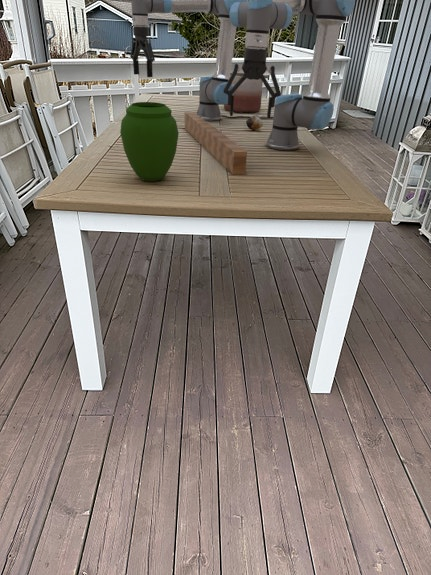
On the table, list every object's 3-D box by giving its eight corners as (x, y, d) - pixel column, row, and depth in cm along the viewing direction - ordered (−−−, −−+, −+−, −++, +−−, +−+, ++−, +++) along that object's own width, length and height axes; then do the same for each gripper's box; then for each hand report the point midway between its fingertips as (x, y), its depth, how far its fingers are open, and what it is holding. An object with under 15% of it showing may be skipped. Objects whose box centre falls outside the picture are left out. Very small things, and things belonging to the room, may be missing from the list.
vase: (131, 189, 135) (125, 110, 122) (118, 172, 150) (112, 100, 137) (186, 184, 142) (187, 109, 129) (169, 168, 157) (167, 99, 144)
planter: (264, 113, 274) (268, 77, 262) (227, 113, 270) (229, 75, 258) (255, 107, 295) (258, 73, 283) (220, 106, 291) (222, 72, 279)
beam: (184, 128, 223) (184, 112, 218) (193, 128, 224) (193, 112, 220) (232, 174, 155) (234, 151, 151) (245, 174, 157) (247, 151, 152)
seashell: (261, 129, 230) (262, 114, 225) (263, 131, 225) (265, 115, 221) (244, 128, 228) (245, 113, 224) (246, 131, 224) (247, 115, 219)
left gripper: (121, 25, 204) (124, 73, 215) (146, 26, 187) (149, 78, 199) (134, 26, 208) (137, 73, 219) (160, 27, 191) (162, 78, 203)
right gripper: (219, 46, 132) (215, 116, 144) (295, 50, 134) (285, 119, 145) (218, 45, 139) (215, 112, 150) (290, 50, 140) (282, 116, 151)
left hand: (143, 75), depth 209 cm, fingers open, 13 cm apart
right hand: (249, 116), depth 148 cm, fingers open, 13 cm apart
